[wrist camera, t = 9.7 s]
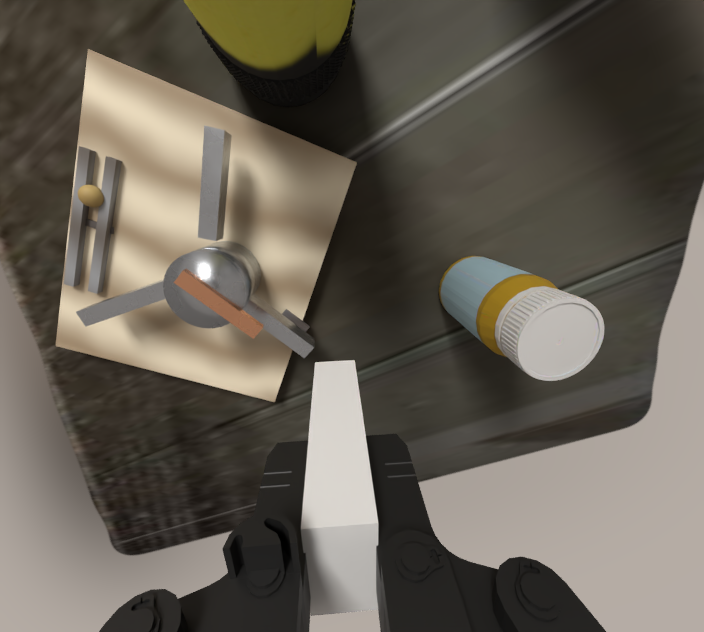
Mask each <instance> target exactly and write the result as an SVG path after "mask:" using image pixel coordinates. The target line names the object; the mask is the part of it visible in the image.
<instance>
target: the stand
mask: <svg viewBox="0 0 704 632" xmlns="http://www.w3.org/2000/svg"><path fill="white" fill-rule="evenodd" d="M204 125H205V126H209V127H213V128H218V129H222V130H225V131H226V132H228V133H229V134H231V135H232V137H231V149H230V161H229V174H228V186H227V198H226V211H225V223H224V235H223V239H220V240H218V241H213V240H207V239H202V238H198V226H199V208H200V191H201V173H202V156H203V139H204ZM356 164H357V162H355V161H352V160H350V159H347V158H345V157H343V156H340V155H338V154H336V153H333V152H331V151H329V150H326V149H324V148H321V147H319V146H317V145H314V144H312V143H310V142H307V141H305V140H302V139H300V138H298V137H295V136H293V135H291V134H288V133H286V132H283V131H281V130H279V129H276V128H274V127H272V126H269V125H267V124H265V123H262V122H260V121H257V120H255V119H253V118H250V117H248V116H246V115H243V114H241V113H238V112H236V111H234V110H231V109H229V108H227V107H224V106H222V105H220V104H217V103H215V102H212V101H210V100H208V99H205V98H203V97H201V96H198V95H196V94H193V93H191V92H189V91H186V90H184V89H182V88H179V87H177V86H175V85H172V84H170V83H167V82H165V81H163V80H160V79H158V78H156V77H153V76H151V75H148V74H146V73H144V72H141V71H139V70H137V69H134V68H132V67H129V66H127V65H125V64H122V63H120V62H118V61H115V60H113V59H111V58H108V57H106V56H103V55H101V54H99V53H96V52H94V51H92V50H89V49H88V54H87V64H86V73H85V82H84V91H83V100H82V109H81V118H80V128H79V137H78V146H77V155H76V164H75V173H74V183H73V192H72V201H71V210H70V219H69V228H68V237H67V247H66V256H65V265H64V274H63V283H62V292H61V301H60V311H59V320H58V329H57V338H56V346H59V347H62V348H66V349H70V350H74V351H78V352H82V353H86V354H90V355H93V356H97V357H101V358H105V359H109V360H113V361H117V362H121V363H125V364H128V365H132V366H136V367H140V368H144V369H148V370H152V371H156V372H159V373H163V374H167V375H171V376H175V377H179V378H183V379H187V380H191V381H194V382H198V383H202V384H206V385H210V386H214V387H218V388H222V389H225V390H229V391H233V392H237V393H241V394H245V395H249V396H253V397H257V398H260V399H264V400H268V401H272V402H275V400H276V397H277V394H278V391H279V388H280V385H281V382H282V379H283V376H284V373H285V371H286V368H287V365H288V362H289V359H290V356H291V353H292V349H291V348H289V347H288V346H287V345H285V344H284V343H283V342H281V341H280V340H278V339H277V338H276V337H274V336H273V335H272V334H270V333H269V332H267V331H266V330H265V329H263V328H262V330H261V331H260V332H259V333H258V334H257V336H256V337H255V338H254V339H253V338H251V337H250V336H248V335H247V334H246V333H244V332H243V331H241V330H240V329H239V328H237V327H236V326H234V325H233V324H231V323H229V324H227V325H225V326H222V327H218V328H200V327H196V326H193V325H191V324H189V323H187V322H185V321H183V320H182V319H181V318H179V317H178V316H177V315H176V314H175V313H174V312H173V311H172V309H171V308H170V306H169V305H168V303H167V301H166V299H164V300H161V301H158V302H155V303H152V304H149V305H147V306H144V307H141V308H138V309H135V310H132V311H129V312H127V313H124V314H121V315H118V316H115V317H112V318H109V319H107V320H104V321H101V322H98V323H95V324H92V325H89V326H86V327H85V325H84V324H83V322H82V321H81V319H80V318H79V316H78V315H77V313H76V311H79V310H81V309H83V308H85V307H87V306H90V305H92V304H95V303H98V302H100V301H103V300H106V299H109V298H112V297H115V296H118V295H120V294H123V293H126V292H129V291H132V290H135V289H138V288H140V287H143V286H146V285H149V284H152V283H155V282H157V281H160V280H163V279H164V276H165V273H166V271H167V269H168V267H169V266H170V265H171V264H172V262H173V261H175V260H176V259H177V258H179V257H180V256H182V255H185V254H187V253H190V252H192V251H195V250H197V249H200V248H202V247H205V246H207V245H210V244H212V243H215V242H219V241H232V242H236V243H238V244H241V245H243V246H244V247H246V248H247V249H248V250H250V251H251V252H252V254H253V255H254V256H255V257H256V259H257V261H258V263H259V266H260V270H261V281H260V284H259V287H258V289H257V290H256V292H255V293H254V294H256V295H257V296H258V297H260V298H261V299H262V300H264V301H265V302H266V303H268V304H269V305H270V306H272V307H273V308H274V309H276V310H277V311H278V312H280V313H281V314H282V315H284V316H285V317H286V318H288V319H289V320H290V321H292V322H293V323H294V324H295V325H297V326H298V327H299V328H301V329H302V330H303V331H305V332H306V331H307V330H308V329H309V327H310V326H309V325H308V324H306V323H305V322H304V321H303V318H304V315H305V312H306V309H307V307H308V304H309V301H310V298H311V295H312V292H313V289H314V286H315V283H316V280H317V277H318V275H319V272H320V269H321V266H322V263H323V260H324V257H325V254H326V251H327V248H328V245H329V243H330V240H331V237H332V234H333V231H334V228H335V225H336V222H337V219H338V216H339V213H340V211H341V208H342V205H343V202H344V199H345V196H346V193H347V190H348V187H349V184H350V181H351V179H352V176H353V173H354V170H355V167H356Z"/></svg>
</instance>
